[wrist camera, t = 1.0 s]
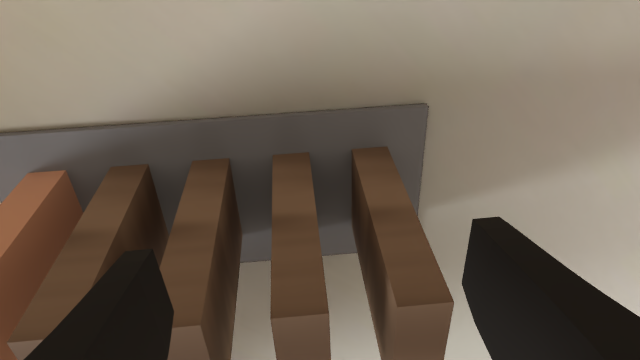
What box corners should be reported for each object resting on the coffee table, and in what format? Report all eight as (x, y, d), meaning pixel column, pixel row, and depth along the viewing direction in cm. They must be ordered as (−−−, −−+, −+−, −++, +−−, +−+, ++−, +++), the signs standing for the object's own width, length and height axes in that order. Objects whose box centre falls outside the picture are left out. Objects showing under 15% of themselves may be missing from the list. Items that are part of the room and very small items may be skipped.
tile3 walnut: (242, 235, 22) (225, 414, 15) (209, 237, 22) (175, 419, 14) (229, 158, 20) (200, 325, 12) (192, 160, 20) (140, 330, 12)
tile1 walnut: (383, 223, 22) (437, 393, 15) (351, 226, 22) (389, 397, 15) (387, 146, 20) (454, 302, 12) (351, 148, 20) (397, 307, 12)
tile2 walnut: (313, 229, 22) (332, 403, 15) (281, 232, 22) (283, 408, 15) (308, 152, 20) (328, 313, 12) (272, 155, 20) (270, 318, 12)
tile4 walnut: (170, 241, 22) (115, 425, 14) (137, 244, 22) (64, 430, 14) (148, 164, 20) (68, 337, 12) (110, 166, 19) (6, 342, 12)
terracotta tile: (97, 247, 22) (2, 437, 14) (63, 249, 22) (-50, 442, 14) (65, 170, 19) (-68, 349, 12) (27, 173, 19) (-131, 355, 12)
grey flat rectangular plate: (412, 244, 24) (414, 247, 23) (44, 275, 23) (41, 279, 23) (426, 103, 19) (428, 106, 19) (-29, 135, 18) (-33, 138, 18)
